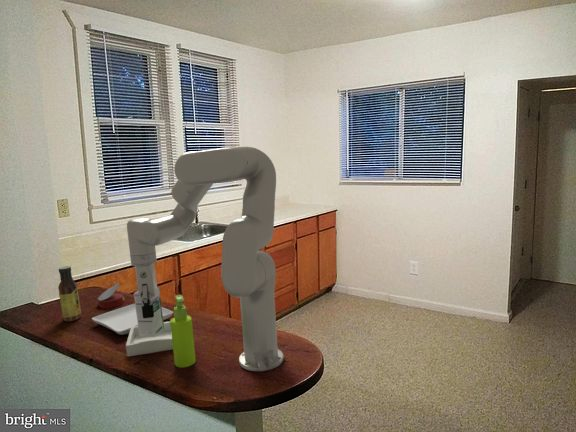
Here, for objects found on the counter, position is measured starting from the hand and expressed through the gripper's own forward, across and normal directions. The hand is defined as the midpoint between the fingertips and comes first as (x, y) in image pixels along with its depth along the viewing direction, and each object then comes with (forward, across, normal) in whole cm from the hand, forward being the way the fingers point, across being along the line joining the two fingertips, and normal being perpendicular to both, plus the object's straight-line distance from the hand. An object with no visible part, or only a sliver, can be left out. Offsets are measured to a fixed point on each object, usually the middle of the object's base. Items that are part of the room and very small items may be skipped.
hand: (149, 312), depth 133 cm
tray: (+10, 0, 0) cm, 10 cm away
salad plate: (+11, +20, +8) cm, 24 cm away
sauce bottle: (+11, +32, +31) cm, 46 cm away
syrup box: (+7, 0, 0) cm, 7 cm away
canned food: (+11, +44, +19) cm, 49 cm away
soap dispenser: (+10, -17, -10) cm, 22 cm away
